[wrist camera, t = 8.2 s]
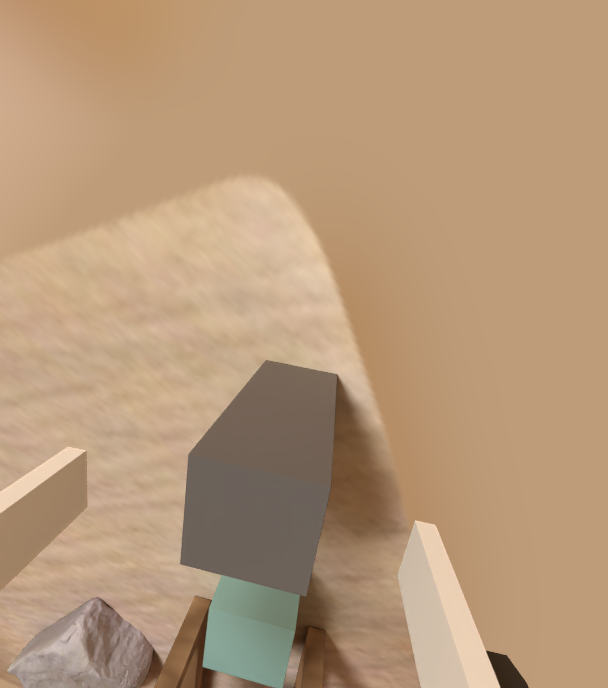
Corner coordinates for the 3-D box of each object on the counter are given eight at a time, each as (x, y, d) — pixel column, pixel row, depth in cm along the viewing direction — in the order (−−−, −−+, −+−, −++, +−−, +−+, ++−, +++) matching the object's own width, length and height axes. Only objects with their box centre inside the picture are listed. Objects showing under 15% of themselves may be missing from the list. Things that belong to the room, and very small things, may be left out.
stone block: (174, 629, 32) (92, 587, 29) (153, 696, 28) (53, 655, 25) (110, 662, 35) (30, 627, 32) (82, 727, 31) (-14, 693, 28)
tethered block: (227, 595, 27) (153, 807, 16) (259, 358, 21) (174, 451, 11) (293, 613, 27) (260, 842, 16) (344, 375, 21) (345, 490, 10)
